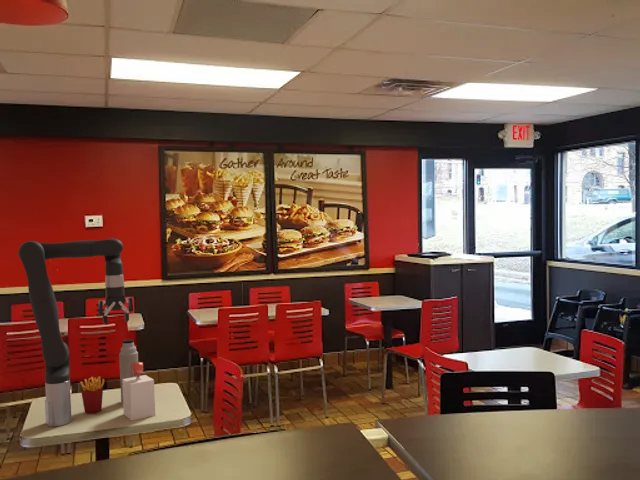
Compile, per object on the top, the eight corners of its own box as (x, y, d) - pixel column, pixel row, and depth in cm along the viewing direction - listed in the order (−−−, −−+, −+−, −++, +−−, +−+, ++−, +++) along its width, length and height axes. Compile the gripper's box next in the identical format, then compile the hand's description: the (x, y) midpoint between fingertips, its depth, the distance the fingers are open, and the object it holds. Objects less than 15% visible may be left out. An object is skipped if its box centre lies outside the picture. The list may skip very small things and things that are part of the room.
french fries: (95, 414, 254) (94, 379, 254) (78, 414, 256) (76, 379, 255) (107, 408, 263) (105, 374, 262) (90, 407, 265) (88, 373, 264)
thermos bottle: (143, 400, 272) (141, 339, 270) (128, 405, 265) (125, 342, 264) (132, 397, 277) (130, 337, 275) (117, 402, 270) (115, 340, 269)
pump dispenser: (131, 420, 246) (130, 384, 245) (123, 414, 254) (122, 379, 253) (155, 415, 252) (154, 379, 251) (146, 409, 260) (145, 374, 259)
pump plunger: (135, 412, 250) (134, 365, 249) (132, 410, 254) (130, 363, 253) (146, 410, 253) (144, 363, 252) (142, 407, 256) (140, 361, 255)
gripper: (100, 287, 248) (101, 326, 249) (134, 284, 257) (135, 322, 258) (95, 286, 254) (96, 324, 255) (128, 283, 263) (129, 320, 264)
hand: (116, 323), depth 256 cm, fingers open, 8 cm apart
